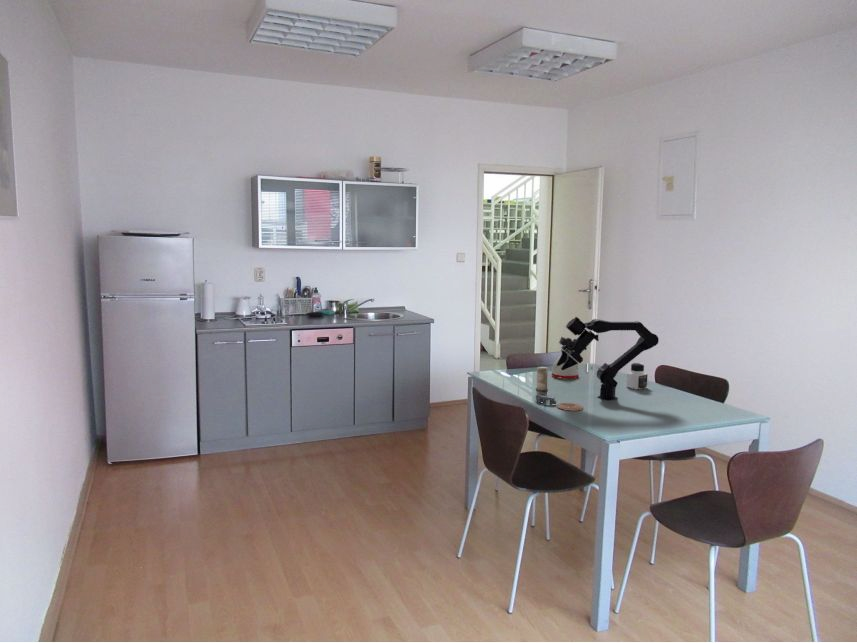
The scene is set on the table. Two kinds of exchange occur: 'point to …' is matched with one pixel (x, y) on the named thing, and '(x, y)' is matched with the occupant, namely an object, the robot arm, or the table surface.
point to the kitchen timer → (566, 373)
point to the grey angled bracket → (545, 398)
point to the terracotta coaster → (570, 406)
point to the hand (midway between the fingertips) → (559, 367)
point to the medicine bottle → (637, 377)
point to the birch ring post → (542, 380)
